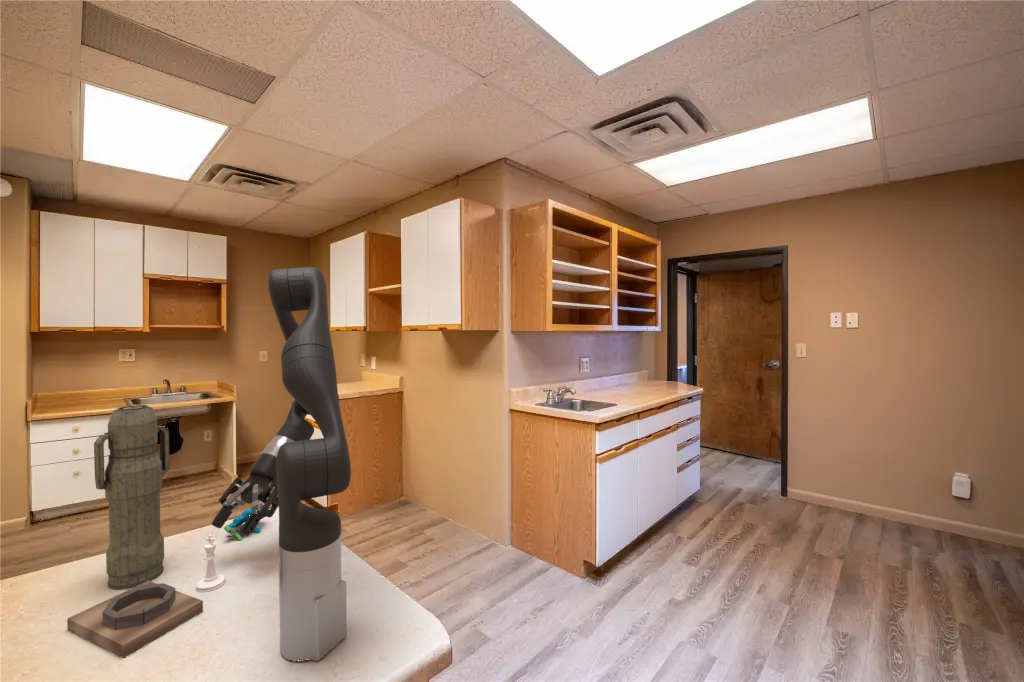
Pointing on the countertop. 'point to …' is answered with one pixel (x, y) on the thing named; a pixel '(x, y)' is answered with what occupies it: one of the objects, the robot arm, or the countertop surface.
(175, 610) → the socket board
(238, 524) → the blue and green toy
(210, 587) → the chess piece
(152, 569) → the thermos
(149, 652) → the countertop surface
